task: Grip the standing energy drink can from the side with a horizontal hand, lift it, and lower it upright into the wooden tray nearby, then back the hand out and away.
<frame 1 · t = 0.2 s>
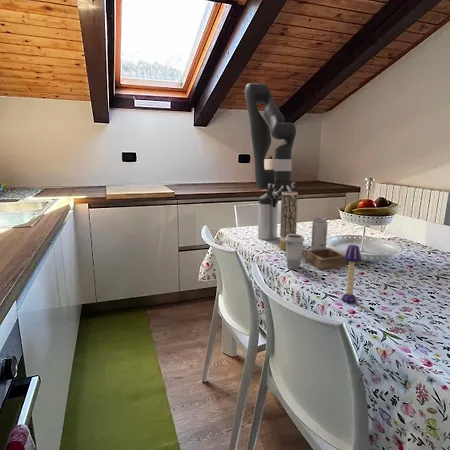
hand: (282, 206, 153), 18 cm above the table, tool pointing down, fingers open, 8 cm apart
energy drink can: (318, 253, 145), on the table
wooden tray: (325, 263, 132), on the table
bark patterned cylinder: (287, 249, 151), on the table
toy lamp: (349, 300, 102), on the table
cup: (293, 267, 129), on the table
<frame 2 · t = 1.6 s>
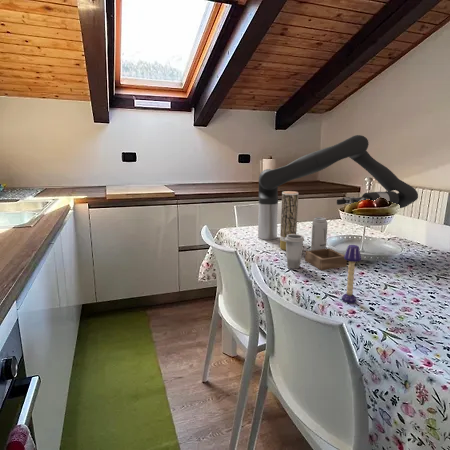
hand: (343, 203, 143), 21 cm above the table, tool horizontal, fingers open, 8 cm apart
nothing on the table moved.
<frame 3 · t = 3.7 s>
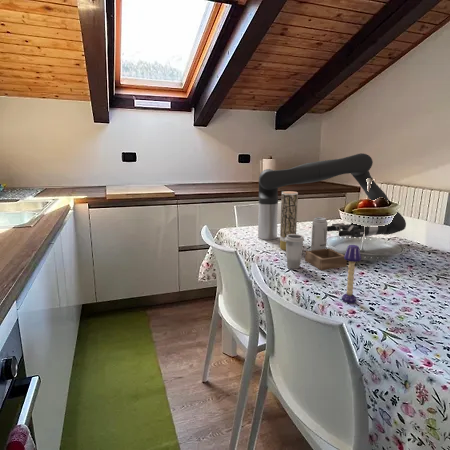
hand: (332, 231, 145), 9 cm above the table, tool horizontal, fingers open, 8 cm apart
nothing on the table moved.
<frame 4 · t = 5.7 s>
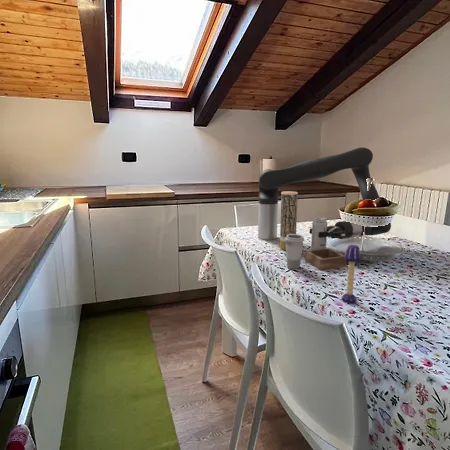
hand: (314, 233, 142), 9 cm above the table, tool horizontal, fingers closed on energy drink can, 6 cm apart
energy drink can: (318, 253, 145), on the table, touching gripper
everything else where it was.
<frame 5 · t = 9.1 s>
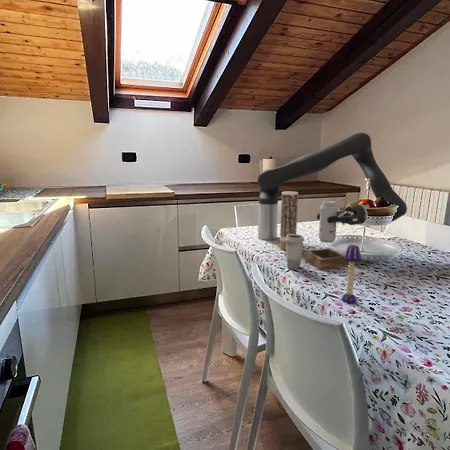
hand: (322, 218, 127), 18 cm above the table, tool horizontal, fingers closed on energy drink can, 6 cm apart
energy drink can: (326, 241, 130), point 9 cm above the table, touching gripper
everything else where it was.
when the fingers open (10 cm above the table, at t = 11.3 s): energy drink can drops 1 cm, resting in wooden tray.
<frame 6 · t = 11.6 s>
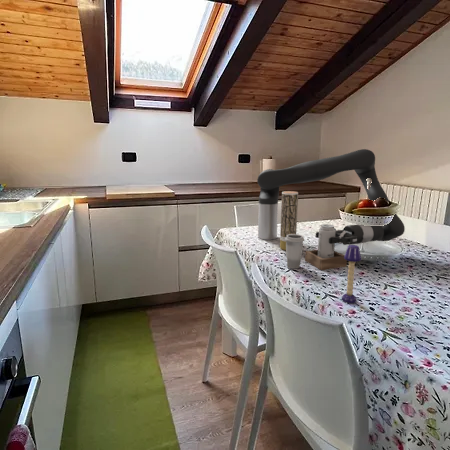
hand: (322, 237, 129), 11 cm above the table, tool horizontal, fingers open, 8 cm apart
energy drink can: (325, 264, 133), resting in wooden tray
everything else where it was.
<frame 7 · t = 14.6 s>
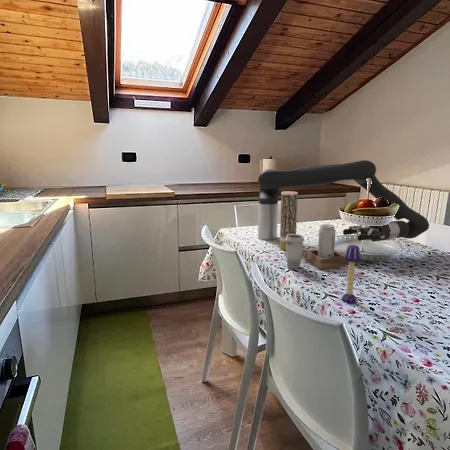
hand: (350, 234, 133), 10 cm above the table, tool horizontal, fingers open, 8 cm apart
nothing on the table moved.
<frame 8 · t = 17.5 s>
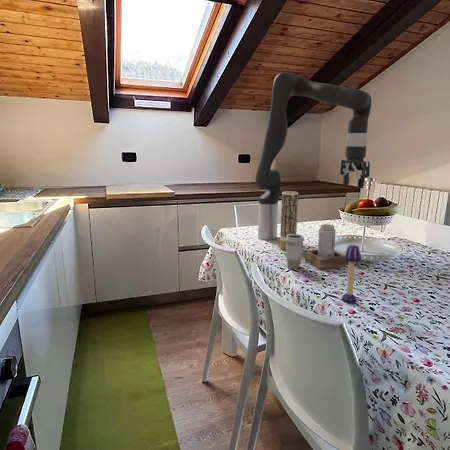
hand: (352, 186, 137), 28 cm above the table, tool pointing down, fingers open, 8 cm apart
nothing on the table moved.
at the end: energy drink can 0.2 cm off-centre on the wooden tray, point 0.0 cm above the wooden tray's base; energy drink can tilted 0°; the gripper is holding nothing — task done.
